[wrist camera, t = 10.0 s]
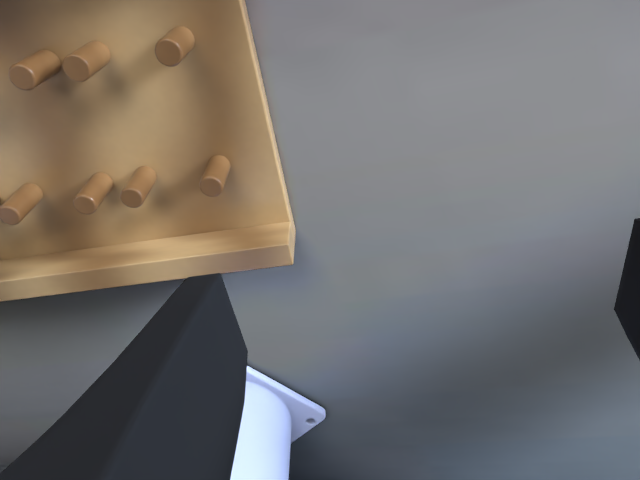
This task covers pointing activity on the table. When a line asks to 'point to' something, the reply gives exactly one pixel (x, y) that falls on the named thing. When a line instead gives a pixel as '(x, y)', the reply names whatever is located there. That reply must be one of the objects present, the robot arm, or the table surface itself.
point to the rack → (134, 146)
